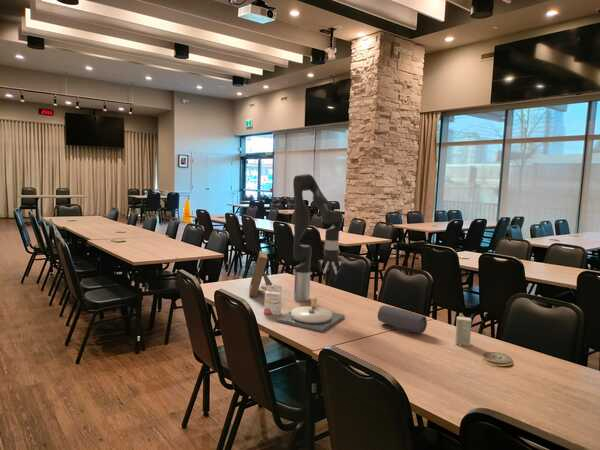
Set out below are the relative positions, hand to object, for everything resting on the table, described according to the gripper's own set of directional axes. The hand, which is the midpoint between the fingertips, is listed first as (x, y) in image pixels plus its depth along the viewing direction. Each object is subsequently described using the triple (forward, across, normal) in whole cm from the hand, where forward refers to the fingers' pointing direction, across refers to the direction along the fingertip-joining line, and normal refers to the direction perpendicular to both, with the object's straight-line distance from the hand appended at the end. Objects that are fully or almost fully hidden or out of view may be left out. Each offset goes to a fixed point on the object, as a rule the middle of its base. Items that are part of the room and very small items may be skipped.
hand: (329, 280), depth 221 cm
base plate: (+19, +8, +9) cm, 23 cm away
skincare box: (+20, -64, +23) cm, 70 cm away
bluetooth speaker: (+20, -37, +10) cm, 43 cm away
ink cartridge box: (+20, +30, +4) cm, 36 cm away
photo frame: (+20, +46, -34) cm, 60 cm away
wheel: (+18, +8, +9) cm, 21 cm away
